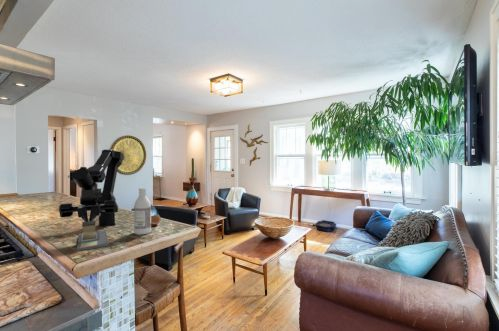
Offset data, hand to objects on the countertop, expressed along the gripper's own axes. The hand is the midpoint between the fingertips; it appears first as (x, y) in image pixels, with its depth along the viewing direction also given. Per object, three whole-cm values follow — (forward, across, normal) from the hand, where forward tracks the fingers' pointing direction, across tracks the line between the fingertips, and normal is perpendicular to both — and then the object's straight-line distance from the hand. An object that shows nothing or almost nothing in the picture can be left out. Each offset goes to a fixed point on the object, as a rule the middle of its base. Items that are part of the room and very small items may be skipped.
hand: (88, 226), depth 94 cm
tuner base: (+2, +1, +8) cm, 8 cm away
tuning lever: (+2, 0, +5) cm, 5 cm away
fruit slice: (-6, +26, +17) cm, 31 cm away
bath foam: (+1, +20, +9) cm, 22 cm away
